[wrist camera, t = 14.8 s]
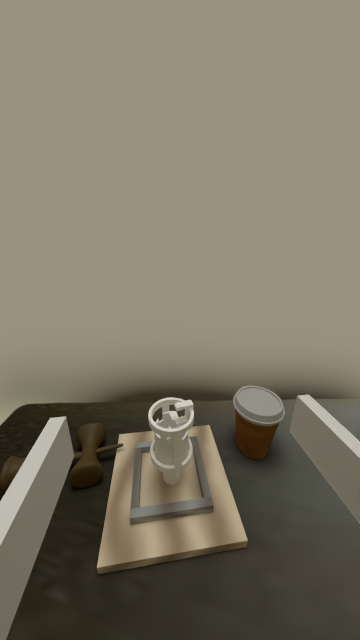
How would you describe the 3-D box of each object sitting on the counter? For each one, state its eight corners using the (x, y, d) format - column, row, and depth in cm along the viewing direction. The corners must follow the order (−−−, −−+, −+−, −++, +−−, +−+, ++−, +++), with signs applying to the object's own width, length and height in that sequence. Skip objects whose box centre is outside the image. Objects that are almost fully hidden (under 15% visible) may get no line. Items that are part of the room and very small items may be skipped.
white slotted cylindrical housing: (198, 488, 35) (201, 417, 30) (157, 505, 32) (154, 431, 28) (183, 451, 41) (184, 388, 36) (147, 463, 39) (144, 397, 34)
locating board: (209, 430, 48) (209, 419, 47) (246, 546, 29) (249, 533, 28) (120, 439, 45) (118, 429, 44) (98, 574, 26) (95, 560, 26)
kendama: (21, 460, 41) (124, 435, 46) (-4, 517, 33) (126, 479, 38) (12, 438, 39) (121, 414, 44) (-17, 493, 31) (122, 456, 36)
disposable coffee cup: (219, 443, 45) (224, 397, 41) (244, 420, 50) (250, 378, 47) (261, 478, 38) (270, 427, 34) (284, 447, 44) (294, 401, 40)
